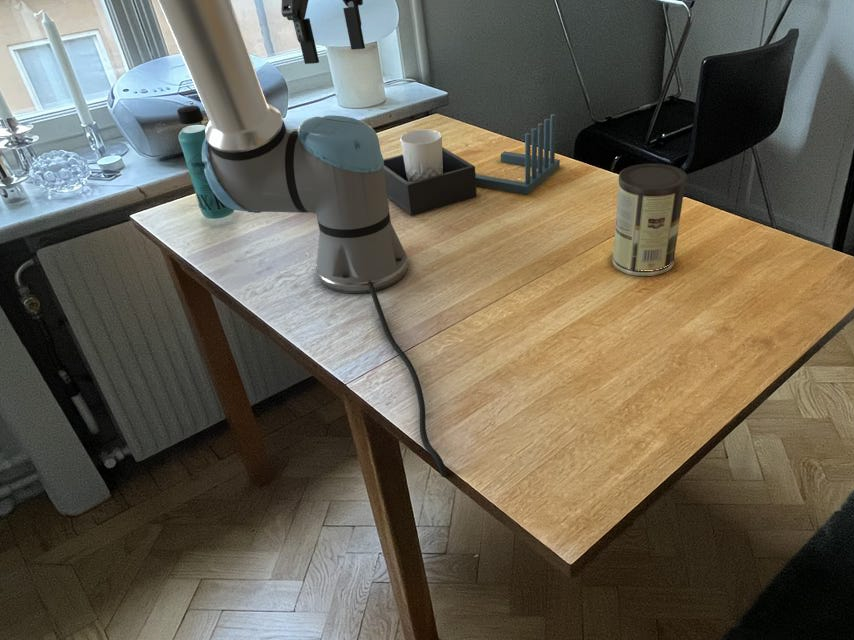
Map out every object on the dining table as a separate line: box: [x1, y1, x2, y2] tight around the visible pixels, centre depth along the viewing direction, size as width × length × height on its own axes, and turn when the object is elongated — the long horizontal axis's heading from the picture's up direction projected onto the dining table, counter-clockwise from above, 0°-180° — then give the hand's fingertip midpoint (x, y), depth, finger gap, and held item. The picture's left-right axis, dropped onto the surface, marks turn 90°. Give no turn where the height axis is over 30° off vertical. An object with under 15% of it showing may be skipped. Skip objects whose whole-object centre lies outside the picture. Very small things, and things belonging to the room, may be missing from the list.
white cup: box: [399, 128, 443, 183], centre depth 141 cm, size 8×8×10 cm
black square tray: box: [383, 146, 477, 217], centre depth 143 cm, size 15×15×6 cm
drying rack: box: [475, 113, 561, 196], centre depth 145 cm, size 13×15×11 cm
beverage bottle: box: [176, 104, 235, 220], centre depth 134 cm, size 6×7×20 cm
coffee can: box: [611, 162, 688, 277], centre depth 116 cm, size 10×10×14 cm
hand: (336, 56), depth 132 cm, fingers open, 13 cm apart
